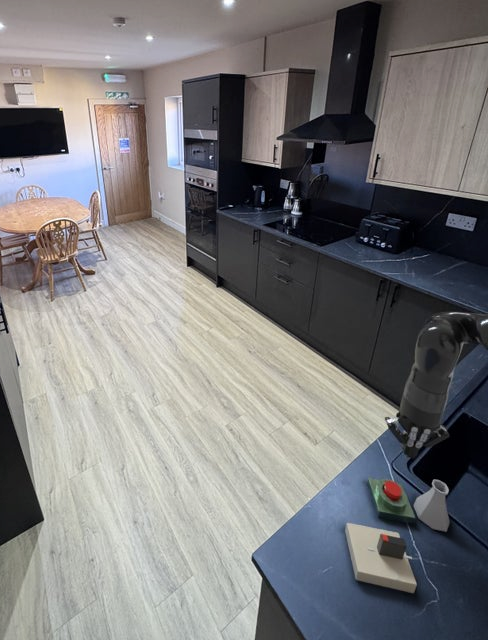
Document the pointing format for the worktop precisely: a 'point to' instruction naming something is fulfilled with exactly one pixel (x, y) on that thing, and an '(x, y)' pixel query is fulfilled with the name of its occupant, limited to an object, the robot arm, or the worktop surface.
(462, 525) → the worktop surface
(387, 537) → the knob
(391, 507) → the box
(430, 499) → the flask
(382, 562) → the panel
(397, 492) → the power button
